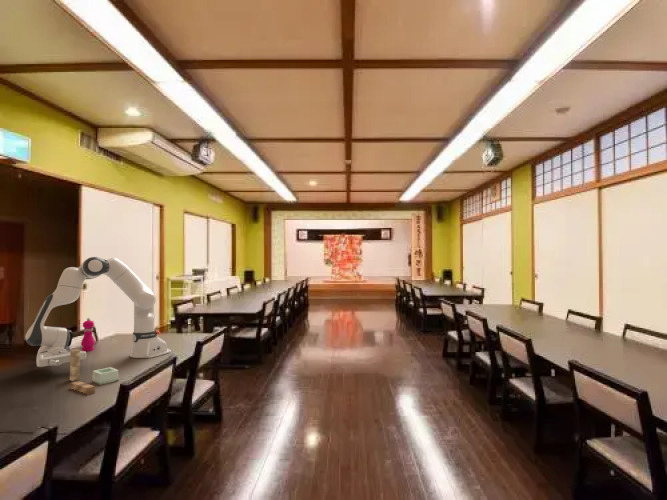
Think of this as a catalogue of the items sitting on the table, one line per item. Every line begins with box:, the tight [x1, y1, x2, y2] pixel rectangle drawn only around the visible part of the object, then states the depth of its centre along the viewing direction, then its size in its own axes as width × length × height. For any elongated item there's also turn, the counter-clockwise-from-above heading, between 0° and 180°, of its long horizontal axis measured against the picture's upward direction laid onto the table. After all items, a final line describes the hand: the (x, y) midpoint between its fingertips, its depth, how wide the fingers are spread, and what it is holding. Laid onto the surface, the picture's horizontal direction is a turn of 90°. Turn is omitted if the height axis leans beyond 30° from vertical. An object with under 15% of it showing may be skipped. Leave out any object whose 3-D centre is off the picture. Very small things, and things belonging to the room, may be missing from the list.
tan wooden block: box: [69, 349, 81, 382], centre depth 185 cm, size 3×3×14 cm
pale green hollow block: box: [91, 366, 119, 386], centre depth 184 cm, size 8×8×5 cm
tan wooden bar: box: [70, 380, 96, 395], centre depth 170 cm, size 14×3×3 cm, turn 60°
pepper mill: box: [80, 317, 96, 352], centre depth 243 cm, size 7×7×20 cm
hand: (68, 360), depth 188 cm, fingers open, 8 cm apart
